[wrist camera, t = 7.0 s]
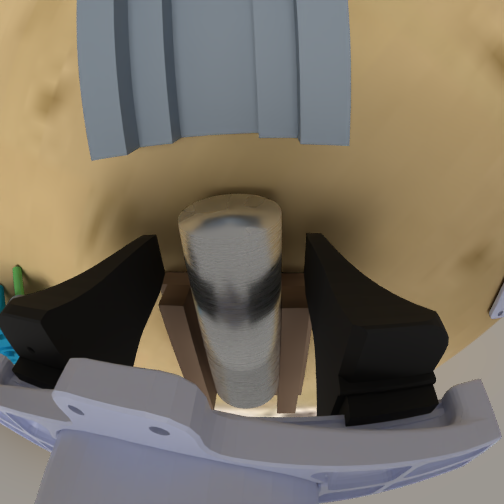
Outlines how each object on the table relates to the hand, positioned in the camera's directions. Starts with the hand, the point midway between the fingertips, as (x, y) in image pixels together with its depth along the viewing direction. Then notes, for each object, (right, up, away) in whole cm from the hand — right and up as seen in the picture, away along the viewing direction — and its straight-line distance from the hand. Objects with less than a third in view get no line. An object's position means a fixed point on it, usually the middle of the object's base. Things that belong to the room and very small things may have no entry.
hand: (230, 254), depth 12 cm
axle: (0, -3, 0) cm, 3 cm away
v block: (0, +8, -4) cm, 9 cm away
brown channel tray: (0, -5, +5) cm, 7 cm away
